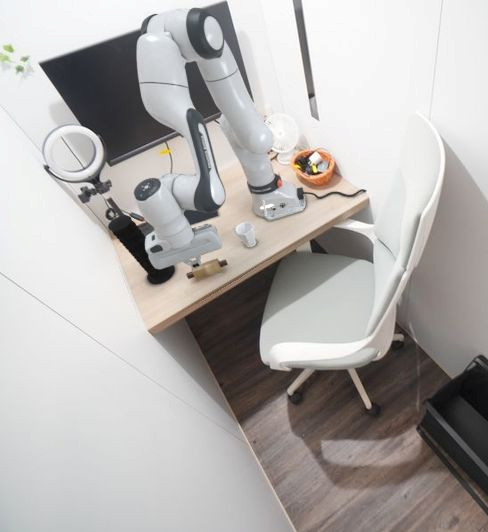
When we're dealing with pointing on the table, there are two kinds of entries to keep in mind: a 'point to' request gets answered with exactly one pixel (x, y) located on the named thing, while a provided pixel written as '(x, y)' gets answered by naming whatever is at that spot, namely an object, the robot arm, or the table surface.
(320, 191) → the table surface
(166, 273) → the handle grip
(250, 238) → the cup
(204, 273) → the rolling pin
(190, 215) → the mat
